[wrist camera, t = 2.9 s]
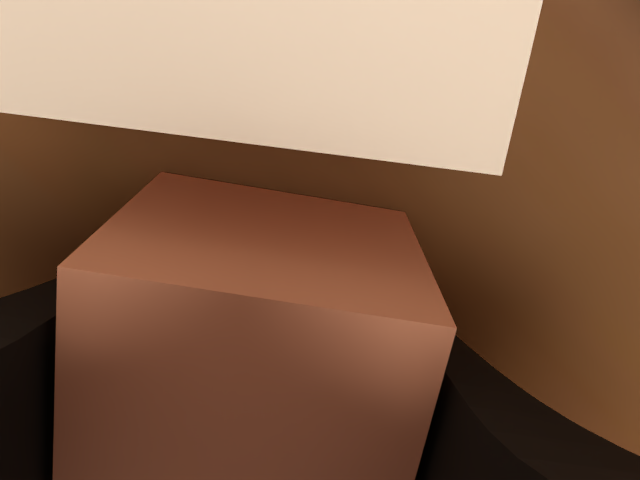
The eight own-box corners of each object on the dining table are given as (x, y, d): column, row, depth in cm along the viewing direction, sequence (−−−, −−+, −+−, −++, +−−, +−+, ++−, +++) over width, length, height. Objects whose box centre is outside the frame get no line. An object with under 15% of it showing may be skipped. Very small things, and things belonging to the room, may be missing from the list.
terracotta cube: (358, 413, 14) (377, 612, 9) (144, 382, 14) (50, 571, 9) (404, 211, 12) (456, 328, 8) (161, 171, 12) (57, 266, 7)
